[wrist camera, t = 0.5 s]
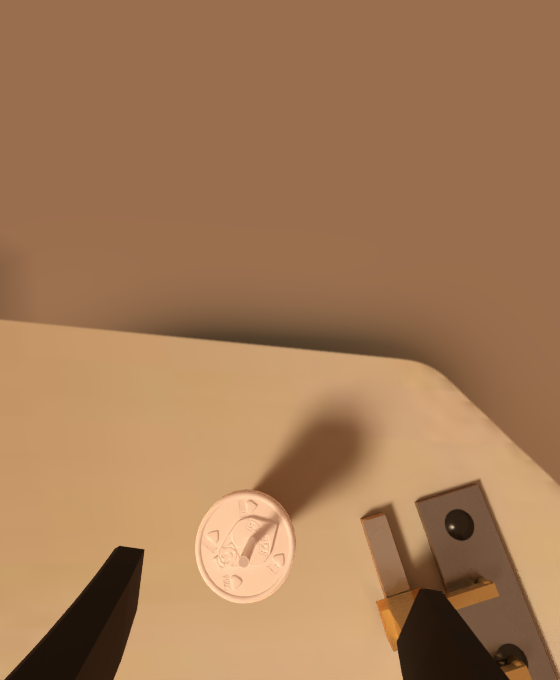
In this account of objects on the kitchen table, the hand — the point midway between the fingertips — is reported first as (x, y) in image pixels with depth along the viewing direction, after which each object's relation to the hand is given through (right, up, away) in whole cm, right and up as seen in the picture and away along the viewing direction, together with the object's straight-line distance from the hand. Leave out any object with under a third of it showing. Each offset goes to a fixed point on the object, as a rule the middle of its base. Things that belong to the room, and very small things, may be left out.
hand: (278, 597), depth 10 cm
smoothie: (-2, -9, +23) cm, 25 cm away
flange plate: (+17, -14, +21) cm, 30 cm away
